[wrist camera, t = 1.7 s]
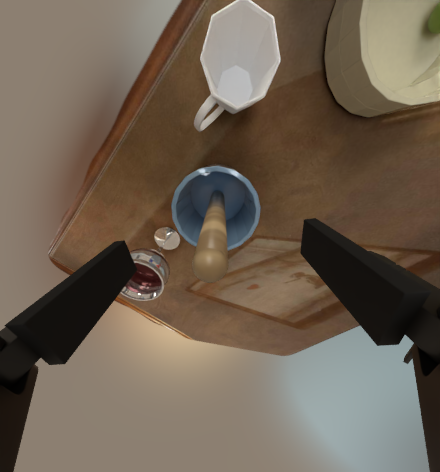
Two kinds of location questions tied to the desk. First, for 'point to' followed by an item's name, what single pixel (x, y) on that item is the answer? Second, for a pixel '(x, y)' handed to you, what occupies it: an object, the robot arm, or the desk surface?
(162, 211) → the desk surface
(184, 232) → the utensil pot
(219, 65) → the cup
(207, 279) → the stick
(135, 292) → the wineglass
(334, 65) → the bowl
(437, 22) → the olive
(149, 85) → the desk surface
